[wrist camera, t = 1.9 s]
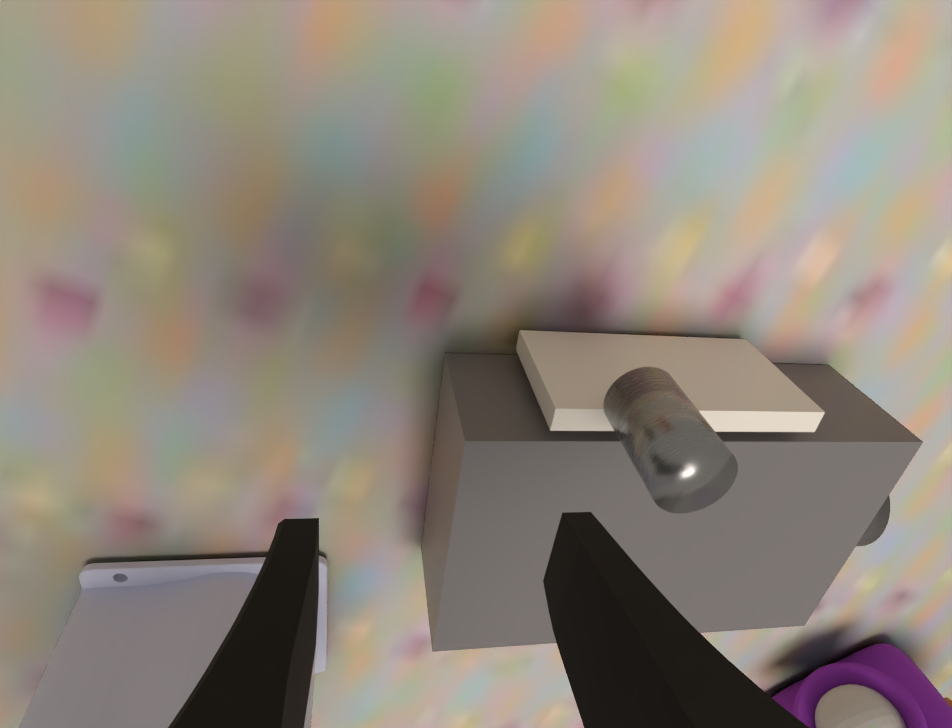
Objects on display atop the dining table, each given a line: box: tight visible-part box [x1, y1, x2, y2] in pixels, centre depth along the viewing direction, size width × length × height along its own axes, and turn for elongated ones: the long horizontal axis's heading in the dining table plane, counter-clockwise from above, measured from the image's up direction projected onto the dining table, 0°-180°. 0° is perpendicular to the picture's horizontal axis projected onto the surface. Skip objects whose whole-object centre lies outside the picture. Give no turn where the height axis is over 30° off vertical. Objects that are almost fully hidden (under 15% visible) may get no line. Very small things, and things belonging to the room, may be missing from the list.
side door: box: [516, 330, 825, 513], centre depth 19 cm, size 9×2×8 cm, turn 82°
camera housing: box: [421, 353, 923, 652], centre depth 24 cm, size 18×10×5 cm, turn 82°
